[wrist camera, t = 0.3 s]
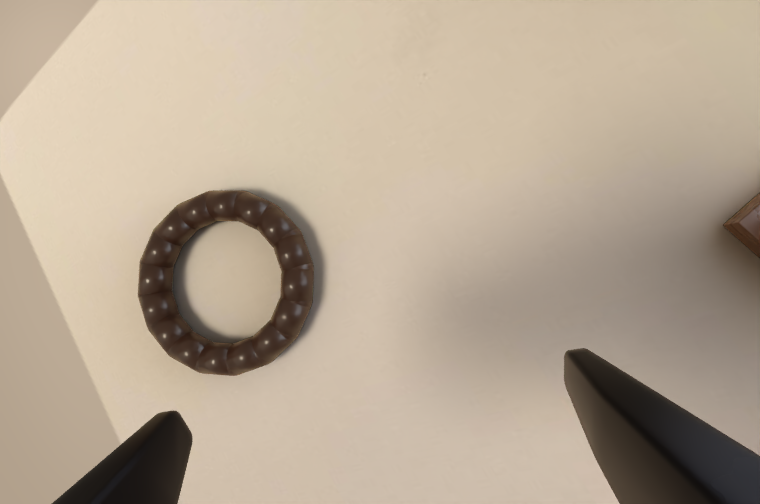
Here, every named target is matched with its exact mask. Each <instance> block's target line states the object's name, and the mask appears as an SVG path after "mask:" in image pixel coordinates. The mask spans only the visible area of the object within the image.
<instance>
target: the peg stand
mask: <svg viewBox="0 0 760 504" xmlns="http://www.w3.org/2000/svg"><path fill="white" fill-rule="evenodd" d="M723 226H724V227H725V228H727V229H728V230H729V231H730V232H731V233H732V234H733V235H734V236H736V237H737V238H738V239H739V240H740V241H741V242H742V243H743V244H744V245H746V246H747V247H748V248H749V249H750V250H751V251H752V252H753V253H755V254H756V255H757V256H758V257H759V258H760V193H759V194H758V195H757V196H756V197H754V198H753V199H752V200H751V201H750V202H749V203H748V204H746V205H745V206H744V207H743V208H742V209H741V210H740V211H738V212H737V213H736V214H735V215H734V216H733V217H732V218H730V219H729V220H728V221H727V222H726V223H725V224H724V225H723Z"/></svg>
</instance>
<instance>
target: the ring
mask: <svg viewBox="0 0 760 504" xmlns="http://www.w3.org/2000/svg"><path fill="white" fill-rule="evenodd" d="M217 221H239V222H242V223H244V224H246V225H248V226H250V227H252V228H254V229H257V230H258V231H259V232H260V233H261V234H262V235H263V236H264V237H265V239H266V240H267V241H268V242H269V243H270V244H271V245H272V247H273V248H274V251H275V254H276V256H277V259H278V262H279V265H280V268H281V271H282V274H281V297H280V299H279V302H278V304H277V306H276V308H275V311H274V313H273V315H272V317H271V320H270V321H269V322H268V323H267V324H266V325H265V326H264V327H263V328H261V329H260V330H259V331H258V332H257V333H256V334H255V335H254V336H252V337H250V338H247V339H244V340H242V341H239V342H236V343H218V342H212V341H210V340H208V339H206V338H204V337H202V336H200V335H199V334H197V333H195V332H193V330H192V329H191V328H190V327H189V325H188V324H187V323H186V322H185V320H184V319H183V318H182V317H181V316H180V314H179V311H178V308H177V305H176V302H175V299H174V295H173V292H172V285H173V267H174V265H175V262H176V260H177V258H178V255H179V253H180V251H181V248H182V246H183V245H184V244H185V243H186V242H187V241H188V240H189V239H190V238H191V236H192V235H193V234H194V233H195V232H196V231H197V230H198V229H200V228H203V227H205V226H207V225H210V224H212V223H214V222H217ZM313 276H314V266H313V262H312V260H311V257H310V254H309V251H308V248H307V246H306V243H305V240H304V237H303V234H302V232H301V231H300V229H299V228H298V227H297V226H296V225H295V224H294V223H293V222H292V221H291V220H290V218H289V217H288V216H287V215H286V214H285V213H284V212H283V211H282V210H281V208H280V207H279V206H277V205H276V204H274V203H272V202H269V201H267V200H265V199H263V198H260V197H258V196H256V195H254V194H252V193H249V192H247V191H208V192H205V193H203V194H201V195H198V196H196V197H194V198H192V199H189V200H187V201H185V202H182V203H180V204H179V205H177V206H176V207H175V208H174V209H173V210H172V211H171V212H170V213H169V214H168V215H167V216H166V217H165V218H164V219H163V220H162V221H161V222H160V223H159V224H158V225H157V226H156V228H155V229H154V230H153V232H152V234H151V237H150V239H149V241H148V244H147V246H146V248H145V250H144V253H143V255H142V257H141V260H140V267H139V284H138V298H139V301H140V305H141V308H142V311H143V315H144V318H145V321H146V324H147V327H148V330H149V331H150V332H151V334H152V335H153V336H154V337H155V339H156V340H157V341H158V343H159V344H160V345H161V346H162V348H163V349H164V350H165V351H166V353H167V354H168V355H169V356H170V357H172V358H173V359H175V360H177V361H179V362H181V363H182V364H184V365H186V366H188V367H190V368H192V369H193V370H195V371H197V372H199V373H204V374H217V375H229V376H236V375H240V374H242V373H245V372H248V371H251V370H253V369H256V368H259V367H262V366H264V365H267V364H269V363H271V362H272V361H273V360H274V359H275V358H277V357H278V356H279V355H280V354H281V353H282V352H283V351H284V350H285V349H286V348H287V347H288V346H289V345H290V344H291V343H292V342H293V341H294V340H295V339H296V338H297V337H298V335H299V333H300V330H301V328H302V326H303V324H304V321H305V319H306V317H307V315H308V312H309V310H310V308H311V305H312V301H313Z"/></svg>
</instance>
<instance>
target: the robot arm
mask: <svg viewBox="0 0 760 504" xmlns="http://www.w3.org/2000/svg"><path fill="white" fill-rule="evenodd" d="M564 381H565V385H566V389H567V391H568V394H569V396H570V398H571V401H572V403H573V406H574V408H575V411H576V413H577V415H578V418H579V420H580V423H581V425H582V428H583V430H584V432H585V435H586V437H587V440H588V442H589V444H590V447H591V449H592V451H593V454H594V456H595V458H596V460H597V462H598V464H599V466H600V468H601V470H602V472H603V474H604V475H605V477H606V479H607V481H608V483H609V485H610V486H611V488H612V490H613V492H614V494H615V496H616V498H617V499H618V501H619V503H620V504H760V456H759V455H757V454H756V453H754V452H753V451H751V450H749V449H748V448H746V447H744V446H743V445H741V444H740V443H738V442H736V441H735V440H733V439H732V438H730V437H728V436H727V435H725V434H723V433H722V432H720V431H719V430H717V429H715V428H714V427H712V426H711V425H709V424H707V423H706V422H704V421H702V420H701V419H699V418H698V417H696V416H694V415H693V414H691V413H690V412H688V411H686V410H685V409H683V408H681V407H680V406H678V405H677V404H675V403H673V402H672V401H670V400H669V399H667V398H665V397H664V396H662V395H661V394H659V393H657V392H656V391H654V390H652V389H651V388H649V387H648V386H646V385H644V384H643V383H641V382H640V381H638V380H636V379H635V378H633V377H631V376H630V375H628V374H627V373H625V372H623V371H622V370H620V369H619V368H617V367H615V366H614V365H612V364H610V363H609V362H607V361H606V360H604V359H602V358H601V357H599V356H598V355H596V354H594V353H593V352H591V351H589V350H588V349H585V348H581V349H574V350H568V351H567V352H566V353H565V357H564ZM191 446H192V434H191V431H190V430H189V428H188V426H187V425H186V423H185V422H184V420H183V418H182V417H181V415H180V414H179V413H178V412H177V411H168V412H161V413H159V414H157V415H155V416H154V417H153V418H152V419H151V420H149V421H148V422H147V423H146V424H145V425H144V426H142V427H141V428H140V429H139V430H138V431H137V432H135V433H134V434H133V435H132V436H131V437H130V438H128V439H127V440H126V441H125V442H124V443H122V444H121V445H120V446H119V447H118V448H117V449H116V450H114V451H113V452H112V453H111V454H110V455H108V456H107V457H106V458H105V459H104V460H102V461H101V462H100V463H99V464H98V465H97V466H95V468H93V469H92V470H91V471H90V472H88V473H87V474H86V475H85V476H84V477H83V478H81V479H80V480H79V481H78V482H77V483H76V484H74V485H73V486H72V487H71V488H70V489H69V490H67V491H66V492H65V493H64V494H63V495H61V496H60V497H59V498H58V499H57V500H56V501H54V502H53V503H52V504H177V503H178V500H179V495H180V491H181V487H182V483H183V479H184V475H185V471H186V467H187V463H188V459H189V454H190V450H191Z"/></svg>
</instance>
